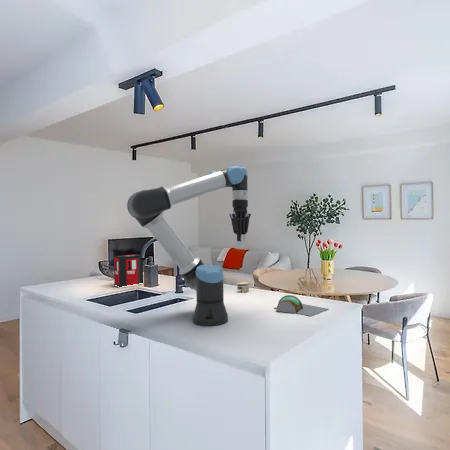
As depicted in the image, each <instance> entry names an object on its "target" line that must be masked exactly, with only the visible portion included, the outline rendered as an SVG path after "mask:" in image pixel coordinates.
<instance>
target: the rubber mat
mask: <svg viewBox="0 0 450 450" xmlns="http://www.w3.org/2000/svg"><path fill="white" fill-rule="evenodd" d="M302 305H303V308H302V309H301V310H299V311H298V312H297V313H295V314H297V315H301V316H307V317H313V316H315V314H316V315H318V314H321V313H323V311H324V312H326V311H328V310H330V309H329V308H327V307H321V306H318V305H317V306H316V305H311V304H305V303H302ZM276 308H277V306H276V307H274V309H273V310H276ZM320 312H321V313H320Z"/></svg>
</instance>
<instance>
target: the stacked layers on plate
mask: <svg viewBox="0 0 450 450" xmlns="http://www.w3.org/2000/svg"><path fill="white" fill-rule="evenodd" d="M249 283H250V282H248V281H241V282H236V284H237V285H236V287H237V288H236V290H237V291H240V292H241V293H244V294H245V293H247V292H249V289H250V287H249V286H250V284H249Z"/></svg>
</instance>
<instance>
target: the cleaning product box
mask: <svg viewBox="0 0 450 450" xmlns="http://www.w3.org/2000/svg"><path fill="white" fill-rule="evenodd" d="M141 255H142V254H137V253H134V254H123V255H114V256H113V276H114V278H113V279H114V286H115V285H117V286H119V287H122V286H127V285H133V284H139V283H143V284H144V259H143V260H141V258H140V256H141Z"/></svg>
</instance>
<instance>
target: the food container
mask: <svg viewBox="0 0 450 450" xmlns="http://www.w3.org/2000/svg"><path fill="white" fill-rule="evenodd" d="M302 304H303V303H302V301H301V300H300V299H299V298H298V296H294V295H292V294H290V295H288V294H287V295H284V296H282V297H281V298H280V299H279V300H278V303H277V305H276V307H277V308H276V307H275V308H276V309H275V311H276V312H280V313H281V312H282V313H289V314H291V313H293V314H296V313H297V312H298V311H299V310H301V309H302V308H303V305H302Z"/></svg>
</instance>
